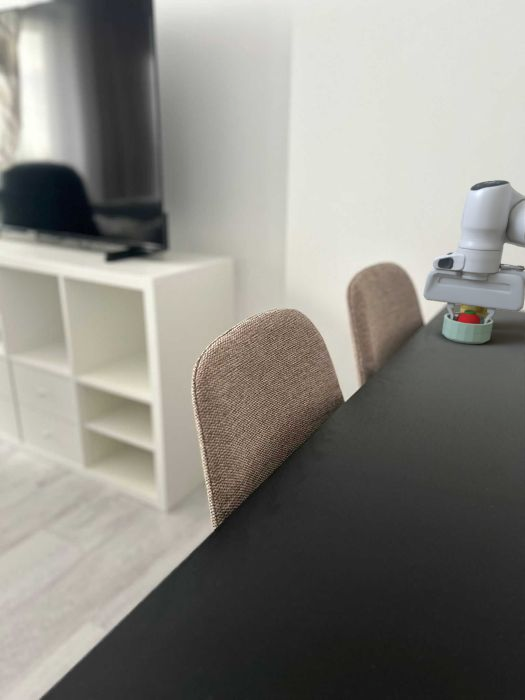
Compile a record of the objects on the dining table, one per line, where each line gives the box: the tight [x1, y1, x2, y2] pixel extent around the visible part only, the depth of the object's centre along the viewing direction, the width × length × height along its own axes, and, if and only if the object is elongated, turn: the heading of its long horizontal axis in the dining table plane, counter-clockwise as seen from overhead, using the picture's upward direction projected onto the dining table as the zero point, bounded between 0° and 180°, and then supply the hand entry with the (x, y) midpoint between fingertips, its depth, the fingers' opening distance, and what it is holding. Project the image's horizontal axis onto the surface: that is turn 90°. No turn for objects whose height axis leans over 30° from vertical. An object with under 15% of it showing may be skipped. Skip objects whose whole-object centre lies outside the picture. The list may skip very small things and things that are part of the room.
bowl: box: [441, 311, 494, 345], centre depth 113 cm, size 10×10×4 cm
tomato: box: [457, 310, 480, 324], centre depth 112 cm, size 5×5×5 cm
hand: (468, 324), depth 112 cm, fingers closed on tomato, 5 cm apart
